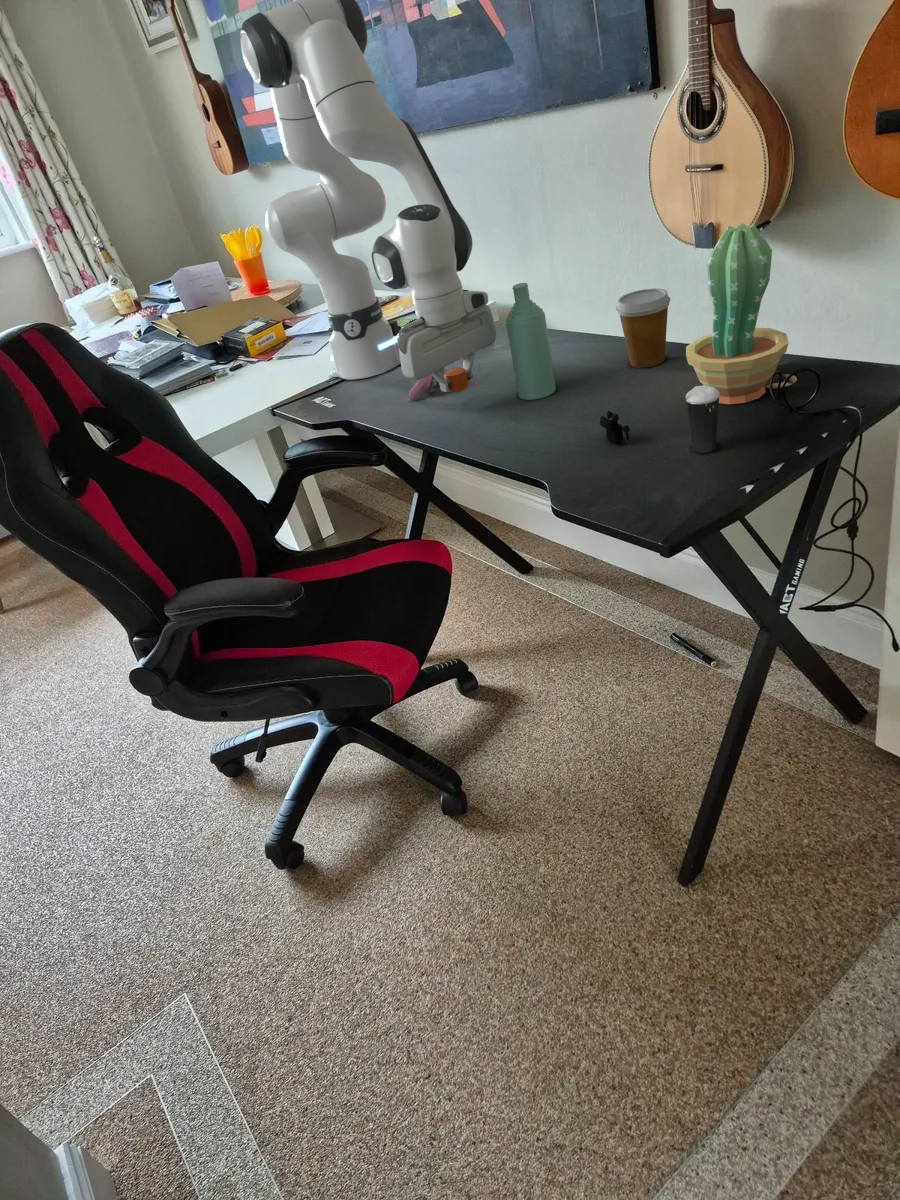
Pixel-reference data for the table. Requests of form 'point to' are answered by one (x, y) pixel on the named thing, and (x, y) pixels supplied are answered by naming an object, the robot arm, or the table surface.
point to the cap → (457, 379)
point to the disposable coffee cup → (644, 325)
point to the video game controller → (422, 387)
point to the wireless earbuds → (614, 428)
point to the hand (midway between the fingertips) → (457, 384)
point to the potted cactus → (738, 320)
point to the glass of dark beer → (703, 417)
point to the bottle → (530, 346)
